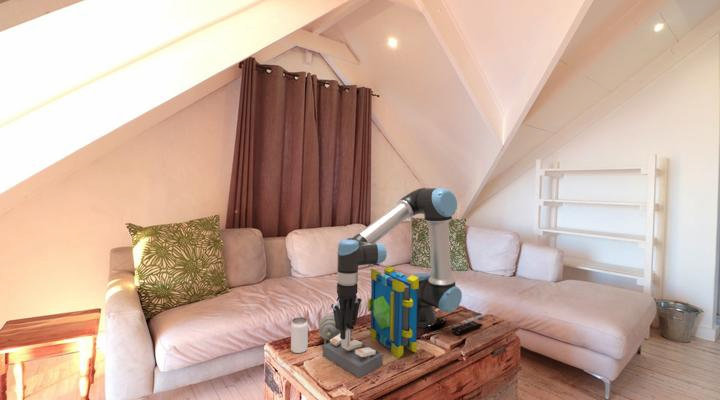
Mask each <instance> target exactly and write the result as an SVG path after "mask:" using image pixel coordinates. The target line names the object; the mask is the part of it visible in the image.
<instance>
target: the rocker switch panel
mask: <svg viewBox="0 0 720 400" xmlns="http://www.w3.org/2000/svg"><path fill="white" fill-rule="evenodd" d="M353 340H355V339H354V338H352V337H350V341H353ZM367 347H369V348H371V347H370V346H367V345H366V344H364V343H362V346H361V347H358V348H356V349H352V350H349V351H348V350H346V349H344V348H343V347H342V346H341V343H340V344H339V345H338V346H335V345H333V344H331V343H330V342H327V344H325V345H324V344H323V345H322V356H323V357H324V358H326V359H327V358H328V359H327V360H329V361H331V362H332V361H333V364H335V363H336V365H337V366H339V367H341V368H342V369H344V370H345V371H346V372H349V373H350V374H351V375H353V376H355V377H357V378H358V379H360V378H362V377H364V376H365V375H367V374H369V373H371V372H372V371H375V370H376V369H378V368H380V367H382V366H383V365H384V364H383V363H384V361H383V359H384V358H383V357H384V354H383V353H381V352H379V351H378V350H376V349H373V348H371V349H373V350H375V351H376V353H375V354H374V355H369V356H365V357H361V356H359V355H357V354H355V350H357V349H362V348H367Z"/></svg>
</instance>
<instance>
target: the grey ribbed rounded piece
mask: <svg viewBox="0 0 720 400" xmlns="http://www.w3.org/2000/svg"><path fill="white" fill-rule="evenodd" d="M318 332H319V336H321V338H322V339H323V345H325V344H327V343H328V342H330V340H331V339H332V338H334V337H335V336H337V335H338V334H340V330H338V329H336V325H335V319H334V312H330V313H327V314H326V315H324V316H323V317H322V318H321V320H320V321H319V323H318Z"/></svg>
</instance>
